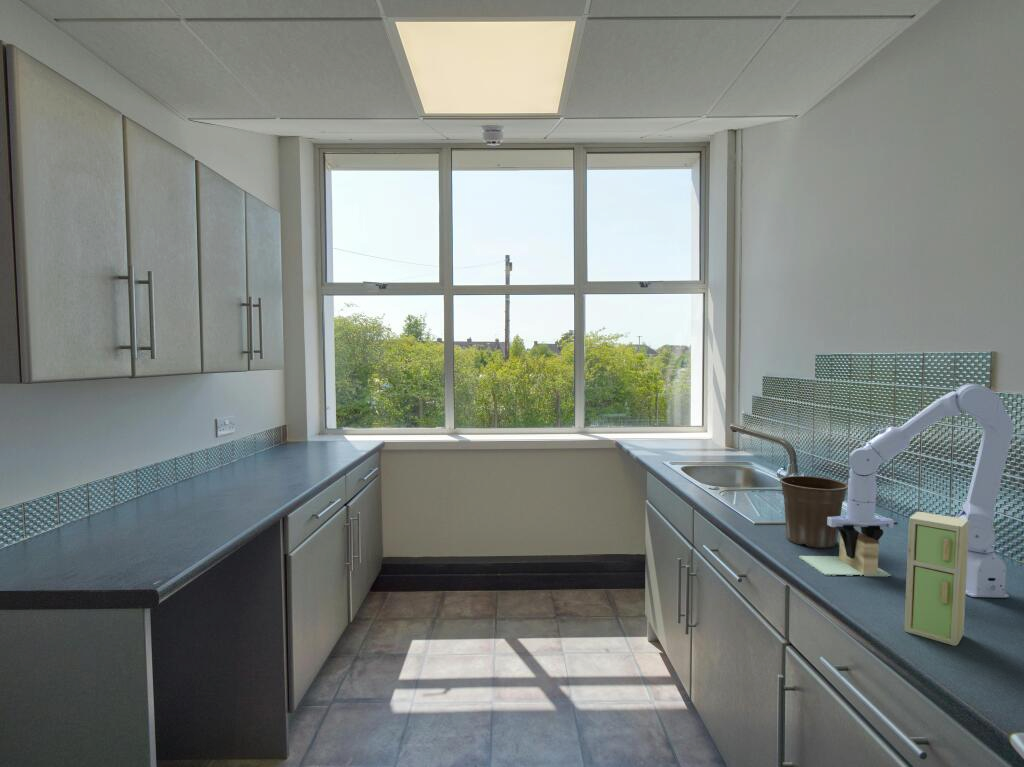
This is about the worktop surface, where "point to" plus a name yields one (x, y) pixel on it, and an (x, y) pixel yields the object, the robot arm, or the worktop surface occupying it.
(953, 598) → the toy refrigerator
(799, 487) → the plant pot
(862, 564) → the oak slab
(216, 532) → the worktop surface
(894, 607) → the worktop surface
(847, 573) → the rubber mat
